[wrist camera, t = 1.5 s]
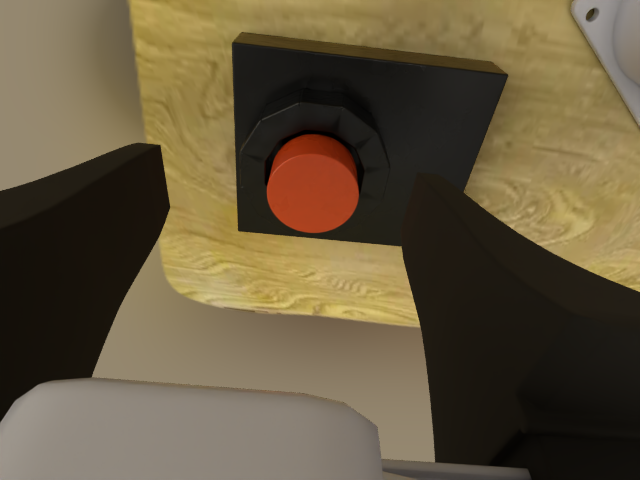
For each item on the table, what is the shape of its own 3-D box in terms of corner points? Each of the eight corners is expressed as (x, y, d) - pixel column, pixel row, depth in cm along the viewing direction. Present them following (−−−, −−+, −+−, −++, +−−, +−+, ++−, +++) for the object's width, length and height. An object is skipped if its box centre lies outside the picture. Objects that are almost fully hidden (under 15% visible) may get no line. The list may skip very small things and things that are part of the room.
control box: (492, 61, 19) (526, 87, 15) (433, 228, 25) (448, 271, 22) (240, 31, 18) (222, 52, 15) (244, 210, 24) (231, 251, 21)
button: (363, 138, 17) (366, 159, 16) (349, 212, 20) (351, 237, 18) (273, 128, 17) (267, 149, 16) (270, 205, 20) (265, 229, 18)
